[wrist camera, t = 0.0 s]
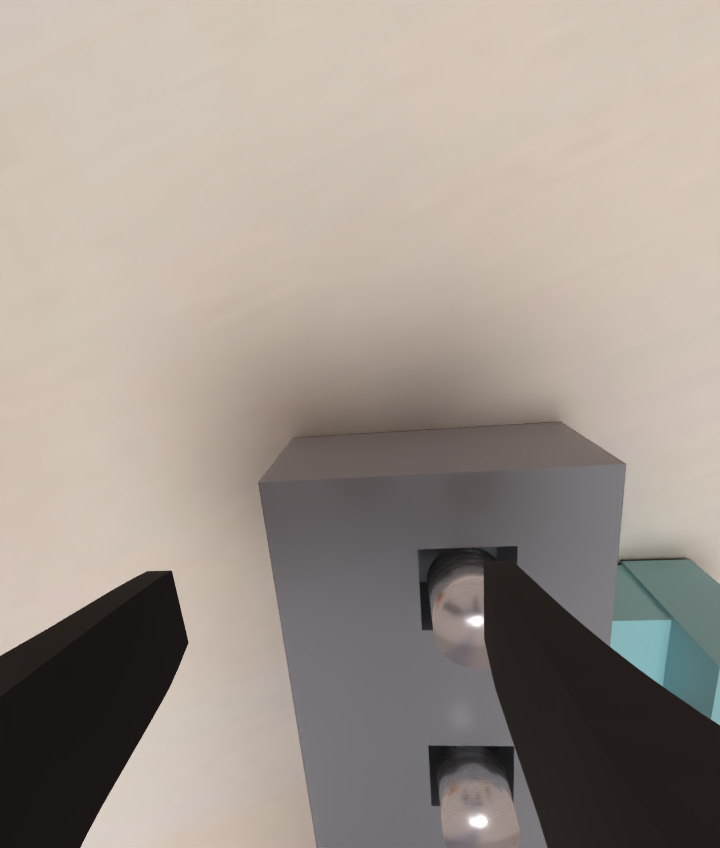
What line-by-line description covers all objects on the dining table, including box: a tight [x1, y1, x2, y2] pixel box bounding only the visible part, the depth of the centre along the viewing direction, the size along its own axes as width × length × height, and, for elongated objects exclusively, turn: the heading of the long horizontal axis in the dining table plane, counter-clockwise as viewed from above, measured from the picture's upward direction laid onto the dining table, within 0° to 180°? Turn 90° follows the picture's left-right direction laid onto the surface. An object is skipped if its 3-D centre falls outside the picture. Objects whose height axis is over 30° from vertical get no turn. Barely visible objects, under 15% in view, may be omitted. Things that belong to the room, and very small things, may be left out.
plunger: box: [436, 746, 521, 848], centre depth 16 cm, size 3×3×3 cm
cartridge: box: [610, 559, 720, 725], centre depth 17 cm, size 4×15×6 cm, turn 95°
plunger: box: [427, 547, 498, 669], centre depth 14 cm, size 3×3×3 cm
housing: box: [259, 422, 626, 848], centre depth 18 cm, size 18×12×5 cm, turn 5°
